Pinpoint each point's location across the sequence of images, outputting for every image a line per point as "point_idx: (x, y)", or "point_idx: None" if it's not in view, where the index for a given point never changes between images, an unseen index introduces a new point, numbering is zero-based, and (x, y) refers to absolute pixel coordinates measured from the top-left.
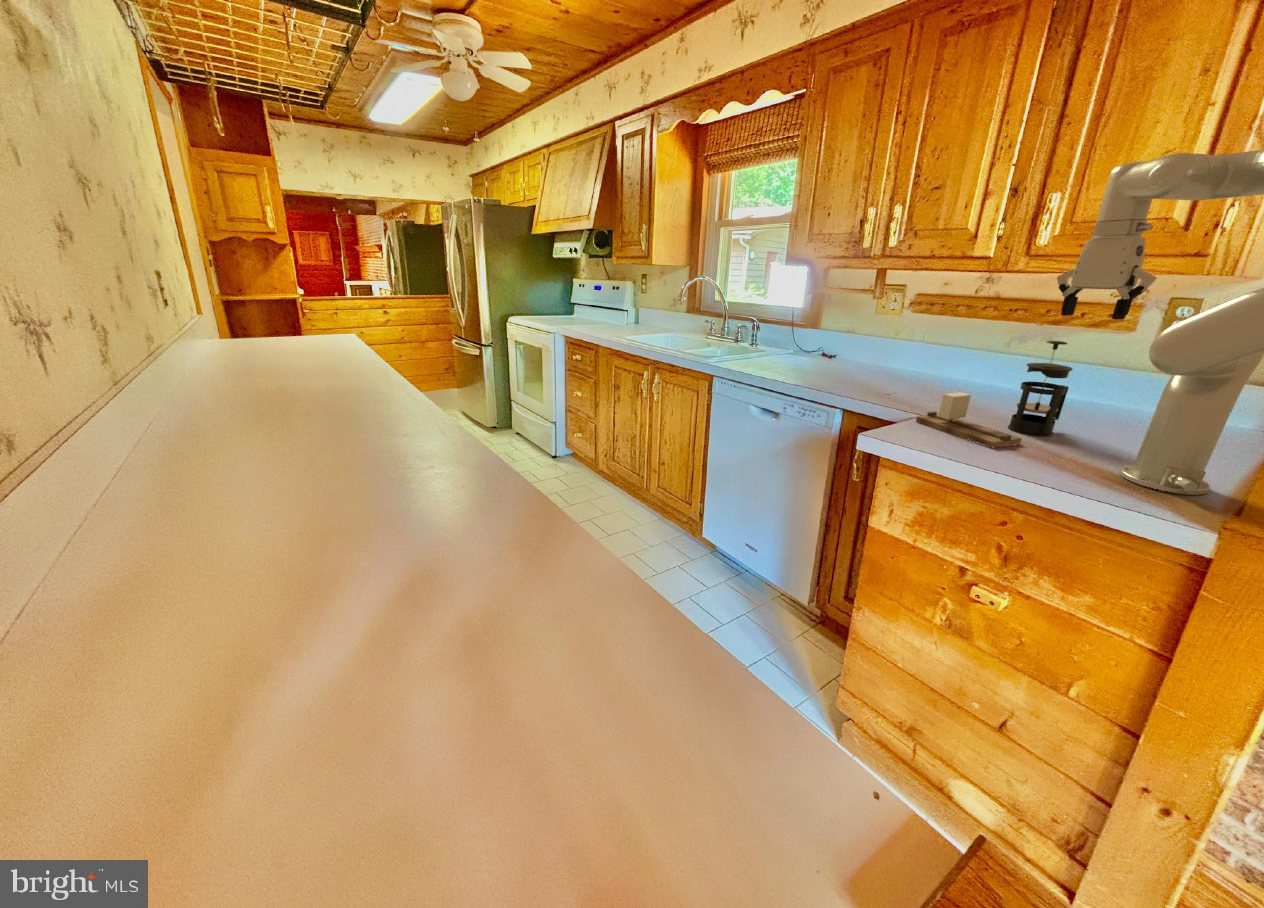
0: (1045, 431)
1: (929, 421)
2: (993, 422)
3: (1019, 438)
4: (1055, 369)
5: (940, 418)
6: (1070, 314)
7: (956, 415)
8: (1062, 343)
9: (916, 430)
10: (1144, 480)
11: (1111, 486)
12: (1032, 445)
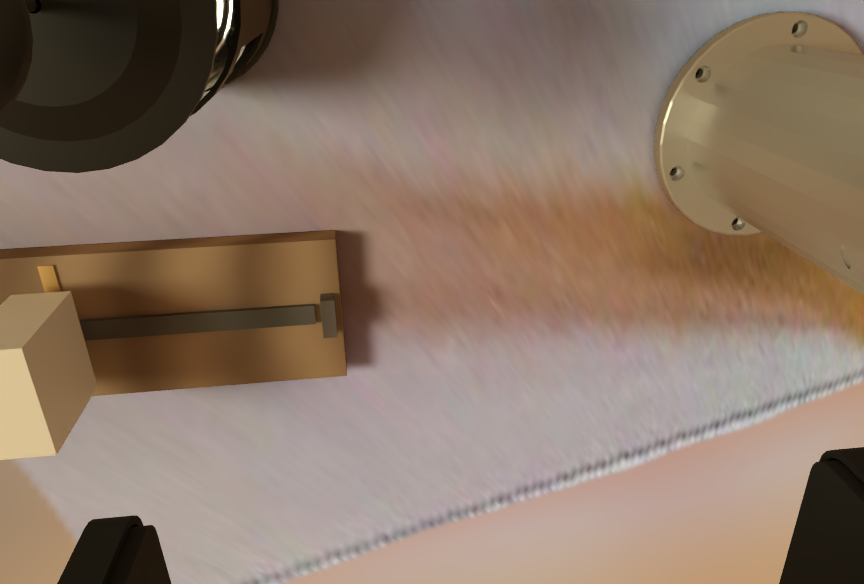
0: (270, 16)
1: None
2: None
3: (332, 247)
4: (175, 98)
5: None
6: (164, 578)
7: (81, 354)
8: (16, 57)
9: (102, 458)
10: (746, 230)
11: (692, 308)
12: (357, 191)
